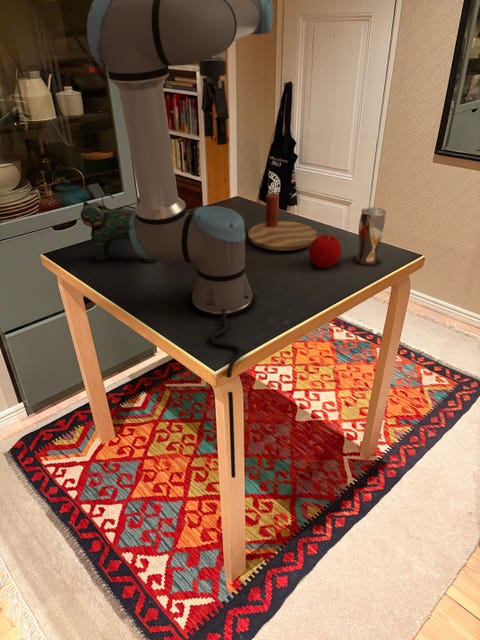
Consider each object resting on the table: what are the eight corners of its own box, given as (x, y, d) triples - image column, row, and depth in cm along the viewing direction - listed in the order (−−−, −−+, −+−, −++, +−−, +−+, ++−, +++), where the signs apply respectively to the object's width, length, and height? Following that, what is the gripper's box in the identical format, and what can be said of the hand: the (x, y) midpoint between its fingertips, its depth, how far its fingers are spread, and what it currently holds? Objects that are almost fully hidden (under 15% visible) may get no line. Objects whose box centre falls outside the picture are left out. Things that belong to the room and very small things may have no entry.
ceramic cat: (89, 262, 139) (75, 195, 128) (97, 253, 144) (84, 189, 133) (153, 264, 137) (145, 197, 126) (159, 255, 142) (152, 190, 131)
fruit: (335, 274, 130) (338, 240, 124) (304, 268, 133) (306, 235, 128) (343, 261, 137) (346, 228, 131) (313, 256, 140) (316, 224, 135)
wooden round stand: (329, 243, 145) (333, 208, 139) (265, 255, 138) (265, 219, 132) (296, 220, 162) (298, 188, 156) (238, 230, 155) (237, 197, 149)
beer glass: (365, 253, 141) (372, 205, 133) (383, 261, 136) (392, 211, 128) (349, 259, 138) (355, 210, 130) (367, 267, 133) (375, 217, 125)
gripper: (239, 61, 120) (240, 147, 131) (213, 57, 140) (215, 132, 151) (211, 62, 118) (215, 149, 129) (188, 58, 138) (193, 134, 149)
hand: (215, 140), depth 140 cm, fingers open, 13 cm apart
